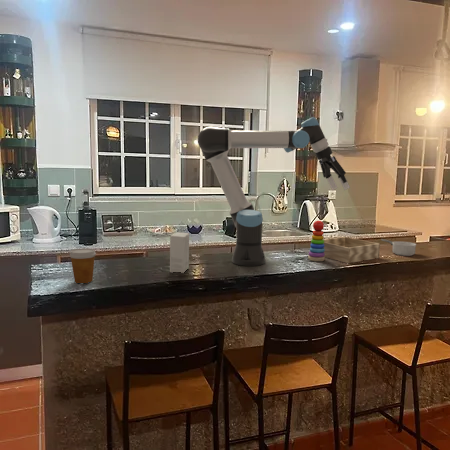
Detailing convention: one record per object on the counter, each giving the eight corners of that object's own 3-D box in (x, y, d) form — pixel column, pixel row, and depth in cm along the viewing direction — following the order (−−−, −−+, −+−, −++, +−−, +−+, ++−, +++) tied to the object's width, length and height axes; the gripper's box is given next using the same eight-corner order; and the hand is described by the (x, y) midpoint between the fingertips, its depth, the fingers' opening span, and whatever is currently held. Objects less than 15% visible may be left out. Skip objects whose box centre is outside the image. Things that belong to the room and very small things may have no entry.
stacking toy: (326, 262, 202) (328, 222, 199) (309, 261, 202) (311, 221, 200) (323, 258, 210) (325, 219, 207) (306, 257, 210) (308, 219, 207)
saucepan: (388, 248, 237) (388, 238, 236) (420, 255, 220) (421, 244, 219) (373, 250, 232) (374, 239, 231) (405, 257, 214) (406, 246, 214)
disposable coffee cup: (100, 278, 169) (99, 248, 167) (91, 285, 160) (90, 253, 158) (76, 278, 170) (75, 247, 168) (66, 284, 160) (64, 252, 158)
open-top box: (347, 263, 200) (348, 248, 199) (313, 254, 219) (314, 240, 218) (379, 257, 212) (380, 243, 211) (344, 249, 231) (345, 236, 230)
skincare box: (175, 267, 188) (175, 232, 185) (190, 268, 187) (190, 232, 184) (169, 272, 180) (169, 235, 177) (184, 273, 178) (184, 236, 176)
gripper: (339, 142, 194) (359, 184, 197) (318, 148, 219) (336, 185, 222) (325, 150, 193) (346, 192, 197) (305, 155, 218) (324, 192, 221)
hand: (341, 189), depth 209 cm, fingers open, 13 cm apart
